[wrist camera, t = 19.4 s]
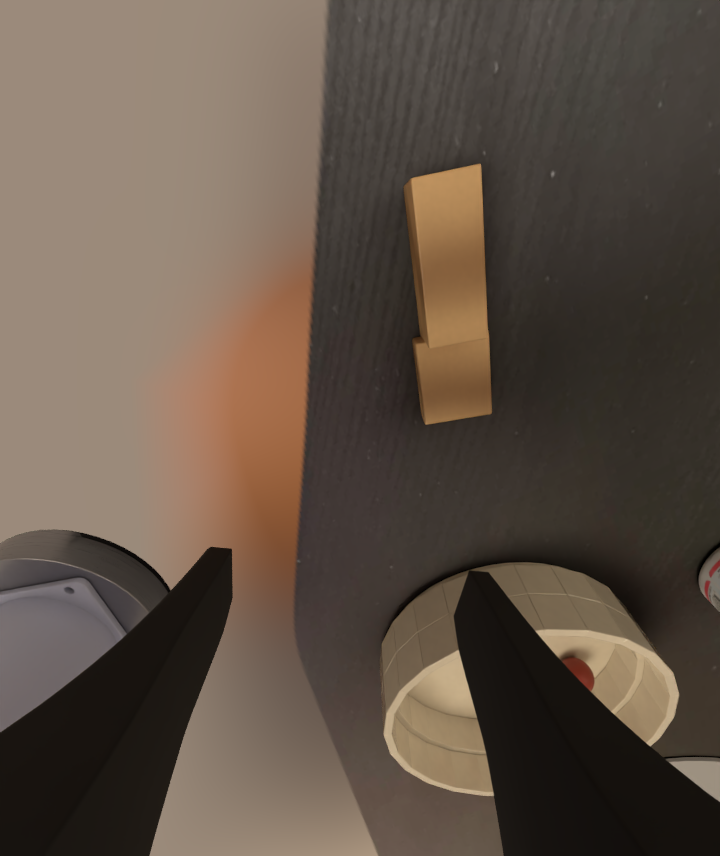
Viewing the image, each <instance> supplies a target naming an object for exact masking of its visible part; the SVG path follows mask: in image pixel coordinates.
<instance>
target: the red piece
mask: <svg viewBox="0 0 720 856" xmlns="http://www.w3.org/2000/svg"><path fill="white" fill-rule="evenodd" d="M562 662H563V663H564V664H565V665H566V667H567V668H568V669H569V670H570V671H571V672H572V673H573V674H574V675H575V676H576V677H577V678H578V679H579V680H580V681H581V682H582V683H583V684H584V685H585V686H586V687H587V688H588V689H589V690H590V691H592V689H593V687H594V683H595V680H594V675H593V672H592V670H591V669H590V667H589V666H588V665H587V664H586V663H585V662H584V661H582V660H581V659H578V658H575V657H567V658H565V659H563V660H562Z"/></svg>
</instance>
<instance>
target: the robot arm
mask: <svg viewBox="0 0 720 856" xmlns="http://www.w3.org/2000/svg"><path fill="white" fill-rule="evenodd" d="M231 602H232V549H228V548H216V547H210V548H209V549H207V550H206V551H205V553H204V554H203V555H202V556H201V558H200V559H199V560H198V561H197V562H196V563H195V565H194V566H193V567H192V568H191V569H190V570H189V571H188V573H187V574H186V575H185V576H184V577H183V578H182V580H180V581H179V583H178V584H177V585H176V586H175V587H174V588H173V589H172V590H171V591H170V592H169V593H168V594H167V595H166V596H165V597H164V598H163V599H162V600H161V601H160V602H159V603H158V605H157V606H156V607H155V608H154V609H153V610H152V611H150V612H149V613H148V614H147V615H146V616H145V617H144V618H143V619H142V620H141V621H140V622H139V623H138V624H137V625H136V626H135V627H134V628H133V629H132V630H131V631H130V632H129V633H126V632H125V630H124V629H123V628H122V626H121V625H120V624H119V622H118V621H117V619H116V618H115V617H114V615H113V614H112V613H111V611H110V610H109V608H108V607H107V606H106V604H105V603H104V602H103V600H102V599H101V597H100V596H99V595H98V593H97V592H96V591H95V589H94V588H93V586H92V585H91V584H90V582H89V581H88V580H86V579H85V578H81V577H80V578H72V579H66V580H61V581H55V582H50V583H44V584H39V585H33V586H28V587H22V588H17V589H12V590H6V591H1V592H0V856H149V855H150V851H151V847H152V844H153V840H154V836H155V832H156V829H157V825H158V822H159V819H160V815H161V811H162V808H163V804H164V801H165V798H166V794H167V791H168V787H169V784H170V780H171V777H172V774H173V770H174V767H175V764H176V760H177V757H178V754H179V750H180V747H181V744H182V740H183V737H184V734H185V731H186V728H187V725H188V722H189V720H190V717H191V714H192V712H193V709H194V707H195V704H196V701H197V699H198V696H199V693H200V691H201V689H202V686H203V683H204V681H205V678H206V676H207V673H208V671H209V668H210V665H211V663H212V660H213V658H214V655H215V652H216V650H217V647H218V645H219V642H220V639H221V636H222V634H223V631H224V627H225V624H226V620H227V617H228V613H229V609H230V605H231ZM454 623H455V630H456V637H457V643H458V649H459V653H460V657H461V661H462V665H463V669H464V672H465V676H466V680H467V683H468V687H469V691H470V694H471V698H472V702H473V705H474V709H475V712H476V716H477V720H478V723H479V727H480V730H481V734H482V738H483V743H484V747H485V751H486V756H487V761H488V766H489V772H490V777H491V782H492V788H493V793H494V799H495V805H496V810H497V816H498V822H499V828H500V834H501V840H502V847H503V853H504V856H720V802H719V801H718V800H716V799H715V798H714V797H712V796H711V795H710V794H708V793H707V792H706V791H704V790H703V789H702V788H701V787H699V786H698V785H697V784H695V783H694V782H693V781H692V780H691V779H689V778H688V777H687V776H686V775H684V774H683V773H682V772H681V771H679V770H678V769H677V768H676V767H674V766H673V765H672V764H671V763H669V762H668V761H667V760H666V759H665V758H663V757H662V756H661V755H660V754H659V753H657V752H656V751H655V750H654V749H653V748H651V747H650V746H649V745H648V744H647V743H646V742H644V741H643V740H642V739H641V738H640V737H639V736H638V735H637V734H635V733H634V732H633V731H632V730H631V729H630V728H629V727H628V726H626V725H625V724H624V723H623V722H622V721H621V720H620V719H619V718H618V717H617V716H615V715H614V714H613V713H612V712H611V711H610V710H609V709H608V708H607V707H606V706H605V705H604V704H603V703H602V702H601V701H600V700H599V699H598V698H597V697H596V696H595V695H594V694H593V693H592V692H591V691H590V690H589V689H588V688H587V687H586V686H585V685H584V684H583V683H582V682H581V681H580V680H579V679H578V678H577V677H576V676H575V675H574V674H573V673H572V672H571V671H570V670H569V669H568V668H567V667H566V665H565V664H564V663H563V662H562V661H561V660H560V659H559V658H558V657H557V655H556V654H555V653H554V652H553V651H552V650H551V649H550V648H549V646H548V645H547V644H546V643H545V642H544V641H543V640H542V638H541V637H540V636H539V635H538V634H537V632H536V631H535V630H534V629H533V628H532V626H531V625H530V624H529V623H528V622H527V620H526V619H525V618H524V617H523V615H522V614H521V613H520V612H519V610H518V609H517V608H516V607H515V605H514V604H513V603H512V601H511V600H510V599H509V598H508V596H507V595H506V594H505V592H504V591H503V590H502V589H501V587H500V586H499V585H498V583H497V582H496V581H495V580H494V578H493V577H492V576H491V575H490V573H489V572H483V571H472V570H469V572H468V575H467V578H466V581H465V584H464V587H463V590H462V593H461V596H460V598H459V601H458V604H457V607H456V610H455V613H454Z"/></svg>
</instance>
